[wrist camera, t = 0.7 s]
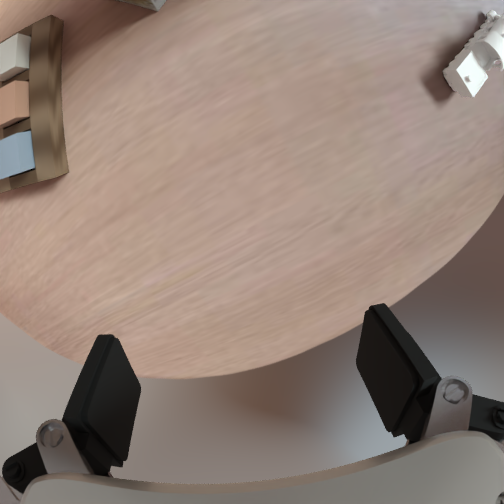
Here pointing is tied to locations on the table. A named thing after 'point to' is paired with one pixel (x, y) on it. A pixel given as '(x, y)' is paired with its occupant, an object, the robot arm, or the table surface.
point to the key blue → (16, 154)
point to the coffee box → (147, 3)
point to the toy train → (477, 57)
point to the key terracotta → (14, 103)
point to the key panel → (41, 105)
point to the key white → (14, 56)
